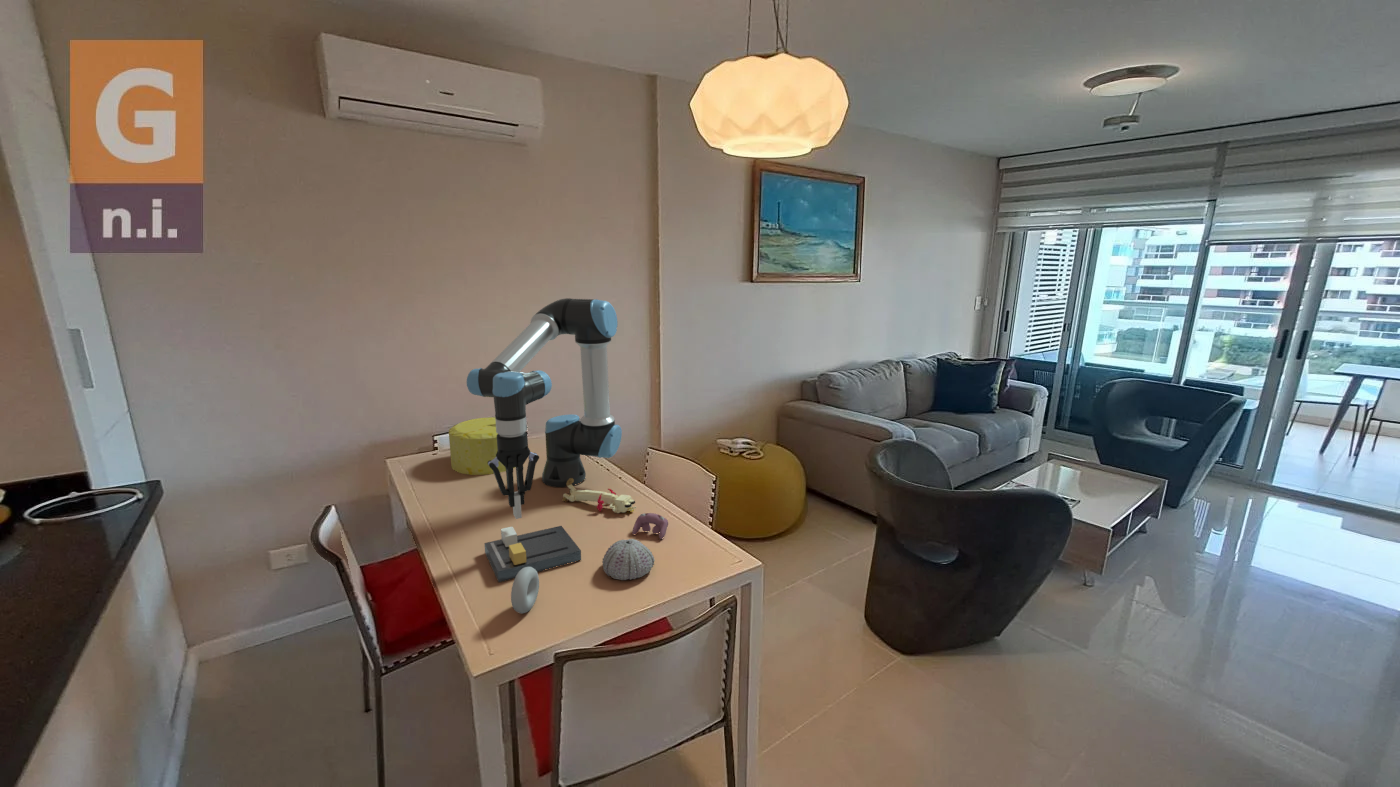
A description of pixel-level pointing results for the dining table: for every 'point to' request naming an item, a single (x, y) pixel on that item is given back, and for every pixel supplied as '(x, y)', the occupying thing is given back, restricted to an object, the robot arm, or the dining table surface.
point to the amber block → (517, 553)
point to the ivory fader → (508, 536)
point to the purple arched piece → (651, 518)
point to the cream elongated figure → (600, 498)
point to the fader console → (533, 552)
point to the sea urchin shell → (627, 560)
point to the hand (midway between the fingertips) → (517, 516)
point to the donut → (525, 590)
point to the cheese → (474, 446)
